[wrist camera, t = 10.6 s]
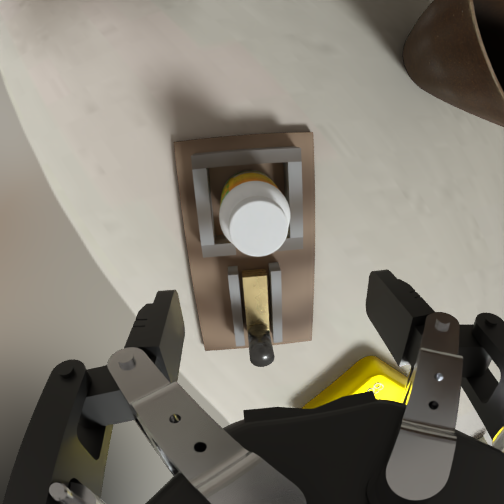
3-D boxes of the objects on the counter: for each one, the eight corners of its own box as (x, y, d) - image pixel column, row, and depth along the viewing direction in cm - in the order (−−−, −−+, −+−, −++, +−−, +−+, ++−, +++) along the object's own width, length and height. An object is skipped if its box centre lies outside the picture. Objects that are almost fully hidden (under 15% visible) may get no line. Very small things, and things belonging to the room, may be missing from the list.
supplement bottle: (218, 171, 28) (214, 192, 19) (276, 167, 29) (298, 186, 20) (223, 226, 30) (221, 269, 22) (278, 221, 31) (299, 263, 22)
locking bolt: (241, 270, 32) (244, 300, 27) (265, 268, 32) (272, 297, 27) (247, 333, 35) (251, 367, 30) (268, 331, 36) (274, 365, 30)
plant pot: (342, 41, 25) (433, -12, 10) (420, -13, 21) (508, -53, 7) (426, 150, 29) (535, 180, 15) (488, 84, 26) (584, 90, 11)
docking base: (175, 141, 28) (168, 143, 25) (311, 132, 28) (320, 132, 25) (205, 346, 37) (204, 364, 34) (310, 336, 38) (316, 353, 35)
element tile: (351, 431, 48) (358, 450, 44) (295, 410, 44) (300, 433, 40) (414, 381, 45) (426, 400, 40) (367, 349, 40) (379, 372, 36)
